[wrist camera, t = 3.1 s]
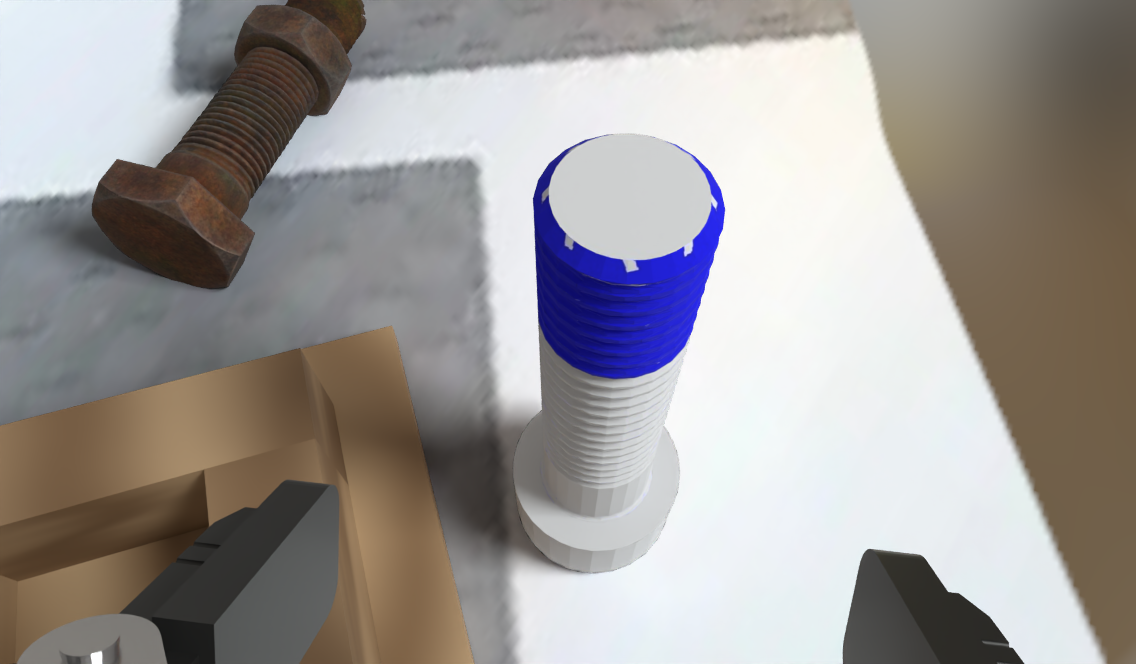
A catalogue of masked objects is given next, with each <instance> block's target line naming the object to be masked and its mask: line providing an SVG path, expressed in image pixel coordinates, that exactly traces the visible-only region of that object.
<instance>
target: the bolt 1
mask: <svg viewBox="0 0 1136 664" xmlns="http://www.w3.org/2000/svg"><path fill="white" fill-rule="evenodd" d="M363 8H364V4H363V2H362V0H288V2H287V3H286V5H285V6H283V5H259V6H256V8H255V9H254V10H253V11H252V13H251V14H250V15H249V16H248V18H247V19H246V20H245V21H244V24H243V26H242V29H241V31H240V34H239V36H238V40H237V43H236V46H235V53H234V56H235V61H236V63H237V65H238V67H236V68H235V70H234V72H233V73H232V74H231V76H230V77H229V78H228V79H227V81H226V83H224V84H223V86H222V88H221V89H219V91H218V93H217V94H215V96H214V98H213V99H212V100H211V101H210V103H209V104H208V106H207V107H206V109H205V110H204V111H203V112H202V114H201V116H199V117H198V119H197V120H196V122H195V123H194V124H193V125H192V126H191V128H190V129H189V130H188V131H187V133H186V134H185V135H184V136H183V138H182V140H181V141H180V142H179V143H178V144H177V146H176V147H175V148H174V149H173V150H172V152H170V153H168V154H166V156H165V157H164V158H163V159H162V160H161V162H160V163H159V164H158V165H157V167H156V168H153V167H148V166H144V165H140V164H136V163H132V162H127V161H123V160H119V159H117V160H116V161H115V162H114V164H113V165H112V166H111V167H110V169H109V170H108V171H107V172H106V174H105V175H104V176H103V177H102V178H101V180H100V181H99V183H98V186H97V189H96V192H95V194H94V198H93V203H92V216H93V218H94V219H95V221H96V222H97V224H98V225H99V227H100V228H101V230H102V231H103V232H104V233H105V235H106V236H107V237H108V238H109V239H110V240H111V242H112V243H113V244H114V245H115V246H116V247H117V248H118V249H119V250H120V251H121V252H123V253H124V254H125V255H127V256H128V257H130V258H131V259H133V260H135V261H136V262H138V263H140V264H142V265H143V266H145V267H147V268H149V269H150V270H152V271H154V272H156V273H158V274H160V275H162V276H164V277H167V278H169V279H171V280H174V281H178V282H182V283H186V284H189V285H192V286H196V287H201V288H222V287H229V285H230V283H231V282H232V280H233V279H234V277H235V276H236V274H237V272H238V271H239V269H240V268H241V266H242V264H243V262H244V260H245V257H246V255H247V252H248V250H249V247H250V245H251V242H252V240H253V237H254V235H255V233H254V232H253V231H252V230H251V229H250V228H249V227H248V226H247V225H245V224H244V223H243V222H242V221H241V219H242V217H243V215H244V214H245V212H246V211H247V209H248V206H249V201H250V199H251V198H252V197H253V196H254V193H255V192H256V191H257V189H258V188H259V186H260V185H261V184H262V181H263V180H264V179H265V177H266V175H267V174H268V173H269V172H270V170H271V168H272V167H273V165H274V163H275V162H276V161H277V159H278V157H279V156H280V155H281V153H282V151H283V150H284V149H285V147H286V145H287V144H288V143H289V141H290V140H291V139H292V137H293V135H294V133H295V132H296V130H297V129H298V128H299V127H300V125H301V123H302V122H303V120H304V119H305V118H306V116H307V115H309V116H313V115H324V114H327V113H328V112H329V110H330V109H331V107H332V106H333V104H334V102H335V101H336V99H337V98H338V96H339V95H340V93H341V91H342V89H343V87H344V85H345V82H346V80H347V78H348V76H349V73H350V71H351V67H352V65H351V63H350V60H349V58H348V56H347V54H348V53H349V50H350V49H351V48H352V46H353V44H354V43H355V41H356V40H357V39H358V37H359V36H360V35H361V33H362V32H363V30H364V28H365V25H366V19H365V17H364V16H362V15H365V11H364V9H363ZM361 14H362V15H361Z"/></svg>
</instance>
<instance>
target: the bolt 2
mask: <svg viewBox="0 0 1136 664" xmlns="http://www.w3.org/2000/svg"><path fill="white" fill-rule="evenodd" d="M533 207H534V226H535V253H536V274H537V275H536V278H537V299H538V323H539V346H540V347H539V349H540V372H541V396H542V410H541V411H540V412H539V413H538V414H537V415H536V416H535V417H534V418H533V419H532V420H531V421H530V422H529V423H528V425H527V427H526V428H525V430H524V431H523V432H522V435H521V437H520V439H519V441H518V444H517V446H516V451H515V455H514V460H513V479H514V486H515V493H516V500H517V507H518V512H519V515H520V520H521V522H522V525H523V527H524V530H525V532H526V534H527V535H528V537H529V538H530V540H531V541H532V542H533V544H534V545H535V546H536V547H537V548H538V549H539V550H540V551H541V553H542V554H543V555H545V556H546V557H547V558H549V559H550V560H552V561H553V562H555V563H557V564H559V565H560V566H563V567H566V568H569V569H572V570H575V571H578V572H587V573H602V572H610V571H614V570H617V569H620V568H622V567H625V566H627V565H630V564H631V563H633V562H634V561H636V560H637V559H638V558H640V557H641V556H643V555H644V554H645V553H646V552H647V551H648V550H649V549H650V548H651V546H652V545H653V544H654V543H655V542H656V540H657V539H658V538H659V536H660V533H661V531H662V529H663V527H664V525H665V522H666V519H667V517H668V514H669V512H670V510H671V507H672V506H673V504H674V501H675V498H676V495H677V493H678V488H679V478H680V467H679V458H678V454H677V450H676V448H675V445H674V442H673V440H672V438H671V437H670V435H669V432H668V431H667V429H666V428H665V427H664V424H665V419H666V417H667V412H668V410H669V407H670V403H671V400H672V395H673V393H674V390H675V386H676V383H677V379H678V376H679V373H680V368H681V366H682V363H683V358H684V356H685V353H686V349H687V345H688V343H689V340H690V335H691V332H692V330H693V324H694V322H695V320H696V317H697V311H698V308H699V306H700V303H701V297H702V295H703V293H704V290H705V283H706V281H707V279H708V276H709V270H710V267H711V265H712V263H713V260H714V253H715V251H716V249H717V246H718V242H719V236H720V234H721V232H722V230H723V223H724V214H725V207H724V202H723V198H722V193H721V189H720V188H719V186H718V184H717V182H716V181H715V179H714V177H713V176H712V174H711V172H710V171H709V170H708V169H707V168H706V167H705V166H704V165H703V164H702V163H701V162H700V161H699V160H698V159H697V158H696V157H695V156H693V155H692V154H690V153H688V152H687V151H685V150H683V149H682V148H680V147H679V146H677V145H675V144H672V143H669V142H666V141H664V140H661V139H658V138H655V137H651V136H647V135H639V134H611V135H604V136H600V137H596V138H592V139H588V140H584V141H582V142H580V143H578V144H576V145H574V146H572V147H570V148H568V149H566V150H565V151H563V152H562V153H561V154H560V155H559V156H558V157H556V158H555V159H554V160H553V161H552V162H550V163H549V165H548V166H547V168H546V169H545V171H544V172H543V174H542V175H541V177H540V178H539V180H538V183H537V186H536V190H535V194H534V197H533Z"/></svg>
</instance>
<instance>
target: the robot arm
mask: <svg viewBox="0 0 1136 664" xmlns="http://www.w3.org/2000/svg"><path fill="white" fill-rule="evenodd" d="M338 556H339V493H338V490H337V487H336V486H335V485H331V484H323V483H314V482H305V481H297V480H285V481H283V482H282V483H281V484H280V485H279V486H278V487H277V488H276V489H275V490H274V491H273V492H272V493H271V494H270V495H269V496H268V497H267V498H266V499H265V500H264V501H263V502H262V503H261V505H260V506H259V507H258V508H250V507H244V508H242V509H240V510H238V511H236V512H234V513H232V514H230V515H228V516H226V517H224V518H222V519H220V520H218V521H216V522H214V523H213V524H212V525H211V526H210V527H209V528H208V529H207V530H206V531H205V532H204V533H203V534H202V535H200V536H199V537H198V538H197V539H196V540H195V541H194V544H193V546H189V547H188V548H187V549H186V550H185V551H184V552H183V553H182V554H181V555H180V556H179V557H177V561H176V563H174V562H172V563H171V564H170V565H169V566H168V567H167V568H166V569H165V570H164V571H163V572H162V573H161V574H160V575H159V576H158V577H157V578H156V579H154V580H153V581H152V582H151V583H150V584H149V585H148V586H147V587H146V588H145V589H144V590H143V591H142V592H141V593H140V594H139V595H138V596H137V597H136V598H135V599H134V600H133V601H131V602H130V603H129V604H128V605H127V606H126V607H125V608H124V609H123V610H122V611H121V612H120V613H119V614H106V615H98V616H92V617H87V618H84V619H80V620H76V621H73V622H71V623H68V624H65V625H63V626H61V627H58V628H56V629H54V630H52V631H50V632H49V633H47V634H45V635H43V636H42V637H40V638H39V639H38V640H36V641H35V642H33V643H32V644H31V645H30V646H29V647H28V648H27V649H26V650H25V651H24V652H23V654H22V655H21V656H20V658H19V660H18V662H17V663H13V664H299V663H300V661H301V660H302V658H303V656H304V655H305V653H306V652H307V650H308V648H309V647H310V645H311V643H312V642H313V640H314V638H315V637H316V635H317V634H318V632H319V630H320V629H321V627H322V625H323V624H324V622H325V621H326V619H327V617H328V615H329V613H330V610H331V608H332V605H333V602H334V598H335V594H336V589H337V583H338ZM843 664H1024V663H1023V661H1022V660H1021V658H1020V657H1019V656H1018V654H1017V653H1016V652H1015V650H1014V649H1013V648H1009V642H1008V641H1007V640H1006V638H1005V637H1004V636H1003V634H1002V633H1001V631H1000V630H999V629H998V627H997V626H996V625H995V623H994V622H993V621H992V619H991V618H990V617H989V616H988V615H986V614H985V613H984V612H983V611H981V610H980V609H979V608H977V607H976V606H975V605H973V604H972V603H971V602H970V601H968V600H967V599H966V598H964V597H963V596H962V595H960V594H959V593H951V592H948V591H947V590H946V588H945V587H944V585H943V584H942V583H941V581H940V580H939V578H938V577H937V575H936V574H935V572H934V571H933V569H932V568H931V567H930V565H929V564H928V562H927V561H926V559H925V558H924V557H923V556H921V555H918V554H909V553H901V552H892V551H884V550H875V549H868V550H866V551H865V553H864V554H863V556H862V559H861V562H860V566H859V570H858V575H857V580H856V585H855V589H854V594H853V599H852V603H851V608H850V613H849V618H848V622H847V627H846V632H845V637H844V643H843Z"/></svg>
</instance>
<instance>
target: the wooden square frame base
mask: <svg viewBox="0 0 1136 664" xmlns="http://www.w3.org/2000/svg"><path fill="white" fill-rule="evenodd" d="M285 480H297V481H305V482H314V483H323V484H331V485H335V486H336V487H337V490H338V493H339V556H338V583H337V589H336V594H335V598H334V602H333V605H332V608H331V610H330V613H329V615H328V617H327V619H326V621H325V622H324V624H323V625H322V627H321V629H320V630H319V632H318V634H317V635H316V637H315V638H314V640H313V642H312V643H311V645H310V647H309V648H308V650H307V652H306V653H305V655H304V656H303V658H302V660H301V661H300V663H299V664H474V660H473V655H472V651H471V647H470V643H469V639H468V634H467V630H466V626H465V622H464V618H463V614H462V609H461V605H460V601H459V597H458V593H457V589H456V584H455V580H454V576H453V572H452V568H451V563H450V559H449V555H448V551H447V547H446V543H445V538H444V534H443V530H442V526H441V522H440V518H439V513H438V509H437V505H436V501H435V497H434V492H433V488H432V484H431V480H430V476H429V472H428V467H427V463H426V459H425V455H424V451H423V447H422V442H421V438H420V434H419V430H418V426H417V421H416V417H415V413H414V409H413V405H412V401H411V396H410V392H409V388H408V384H407V380H406V376H405V371H404V367H403V363H402V359H401V355H400V351H399V346H398V342H397V338H396V336H395V333H394V330H393V327H392V326H389V327H385V328H381V329H377V330H373V331H369V332H365V333H362V334H358V335H354V336H350V337H346V338H342V339H338V340H335V341H331V342H327V343H323V344H319V345H315V346H311V347H308V348H304V349H300V348H299V349H295V350H291V351H287V352H283V353H279V354H276V355H272V356H268V357H264V358H260V359H256V360H252V361H248V362H245V363H241V364H237V365H233V366H229V367H225V368H221V369H218V370H214V371H210V372H206V373H202V374H198V375H194V376H190V377H187V378H183V379H179V380H175V381H171V382H167V383H163V384H160V385H156V386H152V387H148V388H144V389H140V390H136V391H132V392H129V393H125V394H121V395H117V396H113V397H109V398H105V399H101V400H98V401H94V402H90V403H86V404H82V405H78V406H74V407H71V408H67V409H63V410H59V411H55V412H51V413H47V414H43V415H40V416H36V417H32V418H28V419H24V420H20V421H16V422H13V423H9V424H5V425H1V426H0V664H13V663H17V662H18V660H19V658H20V656H21V655H22V654H23V652H24V651H25V650H26V649H27V648H28V647H29V646H30V645H31V644H32V643H33V642H35V641H36V640H38V639H39V638H40V637H42V636H43V635H45V634H47V633H49V632H50V631H52V630H54V629H56V628H58V627H61V626H63V625H65V624H68V623H71V622H73V621H76V620H80V619H84V618H87V617H92V616H98V615H106V614H119V613H120V612H121V611H122V610H123V609H124V608H125V607H126V606H127V605H128V604H129V603H130V602H131V601H133V600H134V599H135V598H136V597H137V596H138V595H139V594H140V593H141V592H142V591H143V590H144V589H145V588H146V587H147V586H148V585H149V584H150V583H151V582H152V581H153V580H154V579H156V578H157V577H158V576H159V575H160V574H161V573H162V572H163V571H164V570H165V569H166V568H167V567H168V566H169V565H170V564H171V563H172V562H174V563H176V561H177V557H179V556H180V555H181V554H182V553H183V552H184V551H185V550H186V549H187V548H188V547H189V546H193V544H194V541H195V540H196V539H197V538H198V537H199V536H200V535H202V534H203V533H204V532H205V531H206V530H207V529H208V528H209V527H210V526H211V525H212V524H213V523H214V522H216V521H218V520H220V519H222V518H224V517H226V516H228V515H230V514H232V513H234V512H236V511H238V510H240V509H242V508H244V507H250V508H258V507H259V506H260V505H261V503H262V502H263V501H264V500H265V499H266V498H267V497H268V496H269V495H270V494H271V493H272V492H273V491H274V490H275V489H276V488H277V487H278V486H279V485H280V484H281V483H282V482H283V481H285Z"/></svg>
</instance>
